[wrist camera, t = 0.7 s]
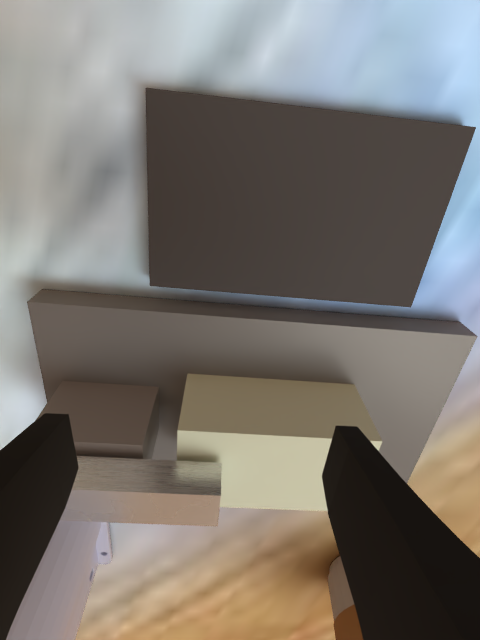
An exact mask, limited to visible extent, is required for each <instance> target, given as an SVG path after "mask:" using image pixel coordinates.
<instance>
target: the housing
mask: <svg viewBox="0 0 480 640" xmlns="http://www.w3.org/2000/svg"><path fill="white" fill-rule="evenodd" d="M27 303H28V308H29V313H30V318H31V323H32V328H33V333H34V338H35V343H36V348H37V353H38V358H39V363H40V368H41V373H42V378H43V383H44V389H45V394H46V399H47V404H46V406H45V407H44V409H43V410H42V412H41V413H40V415H39V416H38V418H40V417H41V416H42V415H43V414H45V413H54V414H69V419H70V424H71V429H72V435H73V440H74V445H75V451H76V456H90V457H111V458H131V459H152V460H173V461H177V430H178V424H179V419H180V413H181V407H182V402H183V396H184V390H185V385H186V379H187V374H203V375H218V376H233V377H249V378H264V379H279V380H295V381H310V382H325V383H341V384H354V385H355V387H356V389H357V391H358V393H359V395H360V397H361V399H362V401H363V403H364V405H365V407H366V409H367V411H368V413H369V415H370V417H371V419H372V421H373V423H374V425H375V427H376V429H377V431H378V433H379V435H380V437H381V439H382V444H381V446H380V449H379V452H380V453H381V455H382V456H383V457H384V458H385V459H386V461H387V462H388V463H389V464H390V465H391V466H392V467H393V469H394V470H395V471H396V472H397V473H398V474H399V476H400V477H401V478H402V479H403V480H404V481H405V482H406V483H407V482H408V480H409V478H410V476H411V474H412V472H413V469H414V467H415V465H416V463H417V461H418V459H419V457H420V455H421V453H422V451H423V449H424V447H425V444H426V442H427V440H428V438H429V436H430V434H431V432H432V430H433V428H434V426H435V424H436V421H437V419H438V417H439V415H440V413H441V411H442V409H443V407H444V405H445V403H446V401H447V399H448V396H449V394H450V392H451V390H452V388H453V386H454V384H455V382H456V380H457V378H458V376H459V374H460V371H461V369H462V367H463V365H464V363H465V361H466V359H467V357H468V355H469V353H470V351H471V348H472V346H473V344H474V342H475V340H476V338H477V336H476V335H475V334H474V333H473V332H471V331H470V330H469V329H468V328H467V327H465V326H464V325H463V324H462V323H461V322H451V321H438V320H425V319H413V318H400V317H388V316H375V315H362V314H350V313H337V312H325V311H312V310H299V309H287V308H274V307H262V306H249V305H236V304H224V303H211V302H199V301H186V300H173V299H161V298H148V297H136V296H123V295H110V294H98V293H85V292H73V291H60V290H47V289H42V290H41V291H39V292H38V293H37V294H36V295H35V296H33V297H32V298H31V299H30V300H29V301H28V302H27ZM38 418H37V419H38ZM37 419H36V420H37Z"/></svg>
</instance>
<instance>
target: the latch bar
mask: <svg viewBox="0 0 480 640" xmlns="http://www.w3.org/2000/svg"><path fill="white" fill-rule="evenodd" d="M77 461H78V466H79V468H78V472H77V475H76V478H75V481H74V484H73V487H72V490H71V493H70V496H69V499H68V502H67V505H66V507H65V510H64V512H63V514H62V516H61V518H60V521H86V522H114V523H142V524H170V525H198V526H217V525H218V517H219V508H220V499H221V471H222V463H214V462H193V461H173V460H152V459H131V458H111V457H90V456H77Z"/></svg>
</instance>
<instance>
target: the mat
mask: <svg viewBox="0 0 480 640" xmlns="http://www.w3.org/2000/svg"><path fill="white" fill-rule="evenodd" d="M146 124H147V173H148V221H149V269H150V286H158V287H170V288H182V289H194V290H207V291H219V292H231V293H243V294H256V295H268V296H280V297H292V298H305V299H317V300H329V301H341V302H354V303H366V304H378V305H391V306H403V307H411V306H412V303H413V300H414V298H415V295H416V292H417V289H418V286H419V284H420V281H421V278H422V275H423V273H424V270H425V267H426V264H427V262H428V259H429V256H430V253H431V250H432V248H433V245H434V242H435V239H436V237H437V234H438V231H439V228H440V226H441V223H442V220H443V217H444V215H445V212H446V209H447V206H448V203H449V201H450V198H451V195H452V192H453V190H454V187H455V184H456V181H457V179H458V176H459V173H460V170H461V168H462V165H463V162H464V159H465V156H466V154H467V151H468V148H469V145H470V143H471V140H472V137H473V134H474V132H475V129H476V127H469V126H461V125H453V124H444V123H436V122H427V121H419V120H411V119H402V118H394V117H386V116H377V115H369V114H360V113H352V112H344V111H335V110H327V109H319V108H310V107H302V106H293V105H285V104H277V103H268V102H260V101H252V100H243V99H235V98H227V97H218V96H210V95H201V94H193V93H185V92H176V91H168V90H160V89H151V88H146Z"/></svg>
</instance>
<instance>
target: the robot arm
mask: <svg viewBox="0 0 480 640" xmlns="http://www.w3.org/2000/svg"><path fill="white" fill-rule="evenodd" d="M78 468H79V466H78V461H77V456H76V451H75V445H74V440H73V435H72V429H71V424H70V419H69V414H54V413H45V414H43V415H42V416H41V417H40V418H38V419H37V420H36V421H35V422H34V423H32V424H31V425H30V426H29V427H28V428H26V429H25V430H24V431H23V432H22V433H20V434H19V435H18V436H17V437H16V438H15V439H13V440H12V441H11V442H10V443H9V444H7V445H6V446H5V447H4V448H3V449H1V450H0V640H75V638H76V635H77V631H78V628H79V625H80V622H81V618H82V615H83V612H84V608H85V605H86V602H87V599H88V595H89V592H90V589H91V586H92V582H93V579H94V576H95V572H96V569H97V566H98V564H109V563H111V561H112V558H113V555H112V546H111V538H110V529H109V522H86V521H60V518H61V516H62V514H63V512H64V510H65V507H66V505H67V502H68V499H69V496H70V493H71V490H72V487H73V484H74V481H75V478H76V475H77V472H78ZM322 481H323V487H324V493H325V499H326V504H327V510H328V515H329V518H330V522H331V526H332V529H333V533H334V536H335V540H336V543H337V547H338V550H339V553H340V557H341V560H342V564H343V567H344V571H345V574H346V577H347V581H348V584H349V588H350V591H351V595H352V598H353V601H354V605H355V608H356V612H357V616H358V620H359V624H360V628H361V632H362V637H363V640H480V558H479V557H478V556H477V555H476V554H475V553H474V552H472V551H471V550H470V549H469V548H468V547H467V546H466V545H465V544H464V543H463V542H462V541H461V540H460V539H459V538H458V537H457V536H456V535H455V534H454V533H453V532H452V531H451V530H450V529H449V528H448V527H447V526H446V525H445V524H444V523H443V522H442V521H441V520H440V519H439V518H438V517H437V516H436V515H435V514H434V513H433V512H432V511H431V509H430V508H429V507H428V506H427V505H426V504H425V503H424V502H423V501H422V500H421V499H420V498H419V497H418V496H417V494H416V493H415V492H414V491H413V490H412V489H411V488H410V487H409V486H408V484H407V483H406V482H405V481H404V480H403V479H402V478H401V477H400V476H399V474H398V473H397V472H396V471H395V470H394V469H393V467H392V466H391V465H390V464H389V463H388V462H387V461H386V459H385V458H384V457H383V456H382V455H381V453H380V452H379V451H378V450H377V449H376V448H375V446H374V445H373V444H372V443H371V442H370V441H369V439H368V438H367V437H366V436H365V435H364V434H363V432H362V431H361V430H360V429H359V428H358V427H357V426H336V427H335V430H334V434H333V437H332V441H331V444H330V448H329V452H328V455H327V459H326V462H325V466H324V469H323V473H322Z"/></svg>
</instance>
